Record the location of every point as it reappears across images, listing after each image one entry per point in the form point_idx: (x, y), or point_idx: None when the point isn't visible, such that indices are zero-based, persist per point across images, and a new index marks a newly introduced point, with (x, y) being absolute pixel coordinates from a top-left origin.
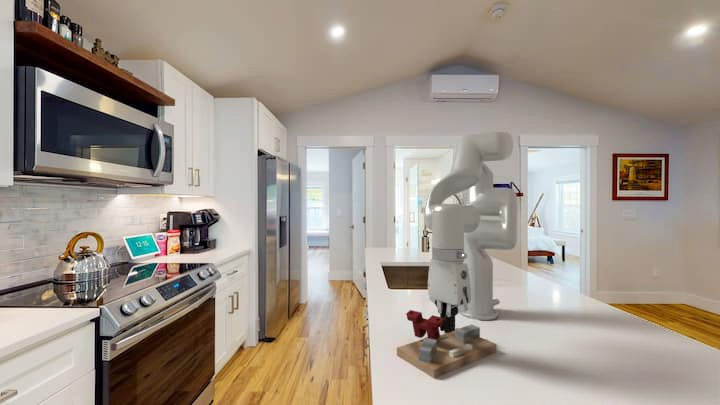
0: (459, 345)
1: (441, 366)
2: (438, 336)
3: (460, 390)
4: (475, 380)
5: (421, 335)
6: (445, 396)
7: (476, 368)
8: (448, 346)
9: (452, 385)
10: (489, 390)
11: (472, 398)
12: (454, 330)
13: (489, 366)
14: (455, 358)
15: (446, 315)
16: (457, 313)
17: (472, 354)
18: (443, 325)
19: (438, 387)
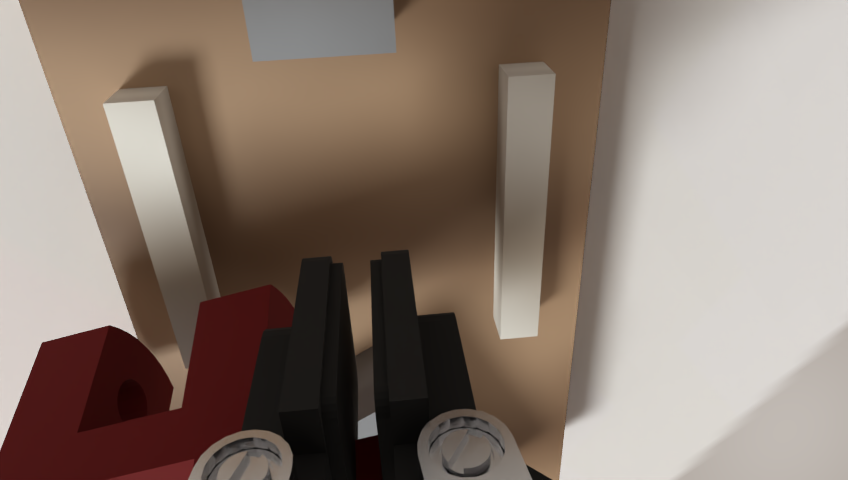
0: (406, 107)
1: (562, 437)
2: (282, 311)
3: (696, 394)
4: (710, 270)
5: (161, 392)
6: (670, 468)
7: (641, 152)
8: (369, 217)
9: (643, 399)
10: (816, 278)
11: (772, 390)
12: (407, 251)
13: (699, 32)
14: (553, 307)
15: (346, 473)
16: (513, 441)
17: (594, 132)
18: (354, 412)
19: (605, 456)
